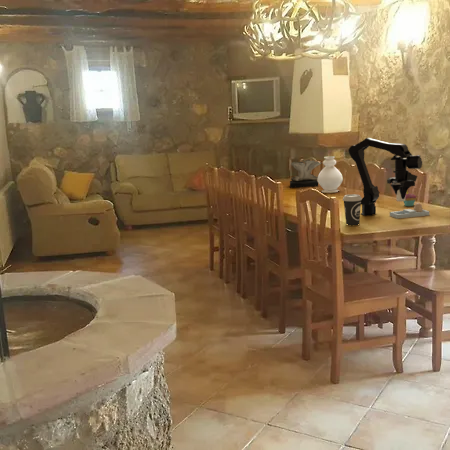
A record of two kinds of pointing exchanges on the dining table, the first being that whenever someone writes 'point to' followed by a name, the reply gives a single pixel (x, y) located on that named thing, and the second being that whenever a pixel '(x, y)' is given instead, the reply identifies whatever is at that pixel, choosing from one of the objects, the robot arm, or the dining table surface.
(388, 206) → the dining table surface
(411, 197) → the cupcake
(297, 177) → the coral
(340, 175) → the decorative vase
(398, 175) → the robot arm
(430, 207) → the dining table surface
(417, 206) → the brown egg
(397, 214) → the egg carton
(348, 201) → the coffee cup
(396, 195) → the cream egg
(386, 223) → the dining table surface
